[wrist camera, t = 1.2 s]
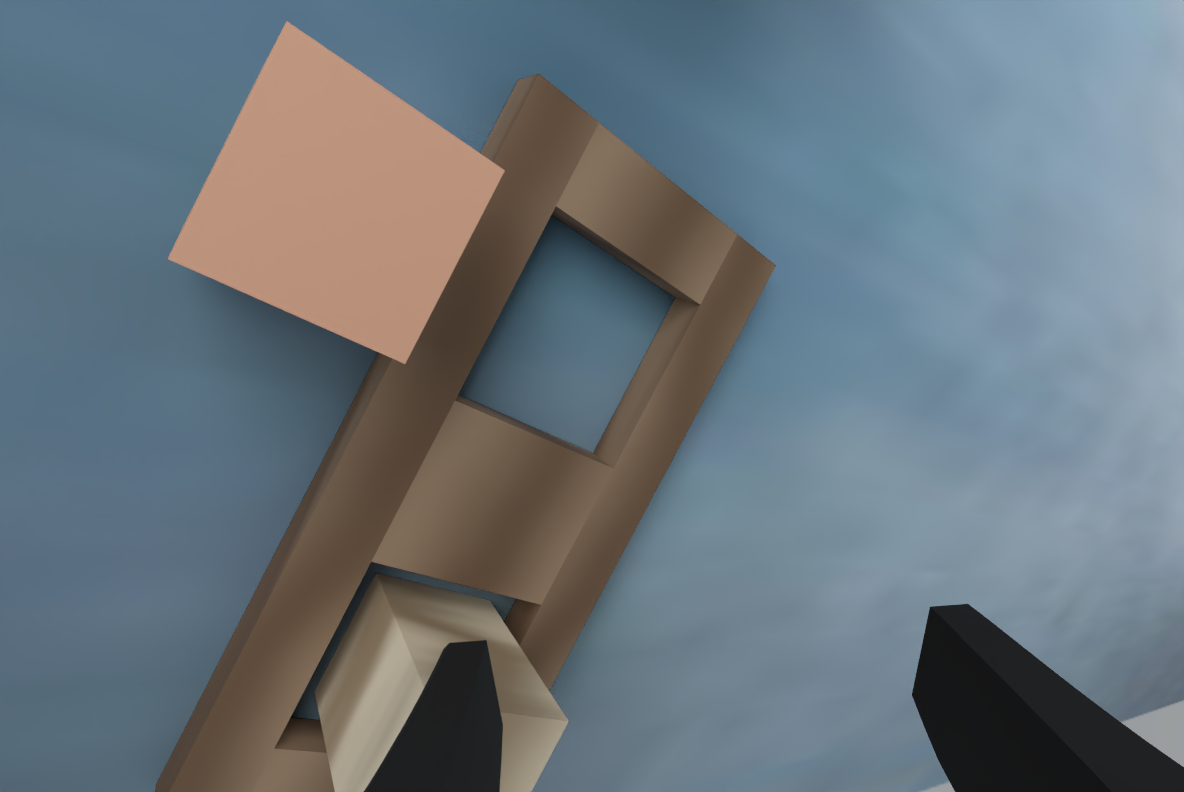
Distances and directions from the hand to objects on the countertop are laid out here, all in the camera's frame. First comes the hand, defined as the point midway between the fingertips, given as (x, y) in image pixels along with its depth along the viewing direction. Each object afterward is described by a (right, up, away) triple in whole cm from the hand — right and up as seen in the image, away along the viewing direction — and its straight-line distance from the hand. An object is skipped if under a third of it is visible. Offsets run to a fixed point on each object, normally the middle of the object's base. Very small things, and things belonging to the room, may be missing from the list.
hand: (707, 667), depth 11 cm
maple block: (-8, -4, +12) cm, 15 cm away
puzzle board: (-6, +1, +12) cm, 13 cm away
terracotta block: (-10, +10, +7) cm, 15 cm away
